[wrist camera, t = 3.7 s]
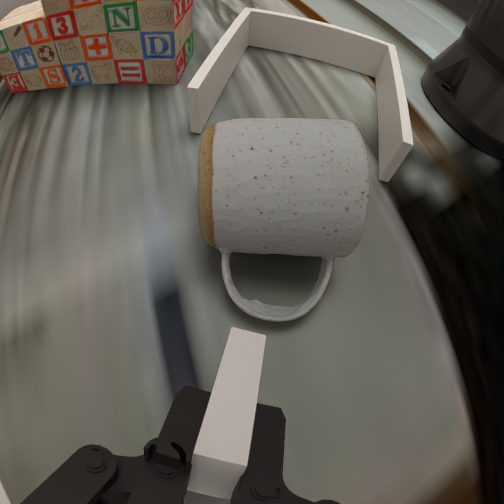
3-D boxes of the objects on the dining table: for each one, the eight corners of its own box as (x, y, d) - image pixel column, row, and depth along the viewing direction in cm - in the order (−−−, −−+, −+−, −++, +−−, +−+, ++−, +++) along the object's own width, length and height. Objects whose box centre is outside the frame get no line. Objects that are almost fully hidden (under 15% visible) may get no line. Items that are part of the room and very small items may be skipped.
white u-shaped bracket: (387, 182, 23) (413, 145, 19) (190, 132, 23) (186, 87, 19) (381, 76, 29) (394, 45, 25) (242, 41, 30) (245, 7, 26)
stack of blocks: (10, 95, 25) (-26, 15, 14) (36, 63, 28) (10, -13, 17) (179, 85, 26) (170, -37, 15) (195, 52, 28) (193, -52, 17)
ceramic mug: (207, 171, 22) (202, 85, 15) (321, 174, 23) (355, 95, 15) (203, 326, 18) (187, 289, 11) (342, 321, 19) (406, 284, 11)
